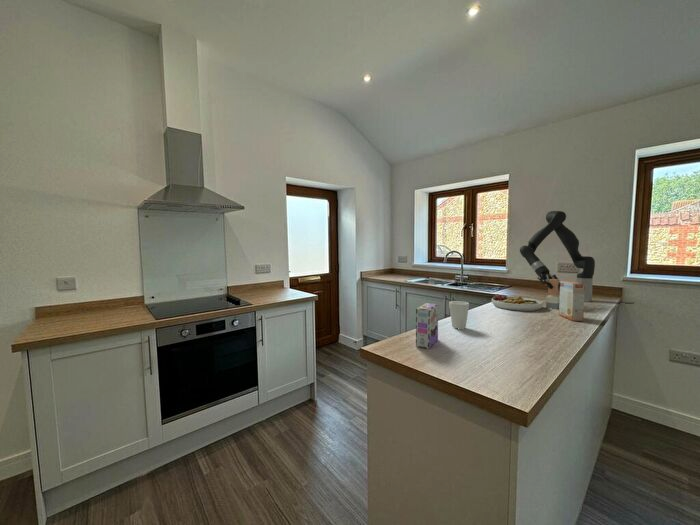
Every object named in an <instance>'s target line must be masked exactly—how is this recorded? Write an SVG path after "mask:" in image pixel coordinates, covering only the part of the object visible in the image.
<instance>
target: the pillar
mask: <svg viewBox="0 0 700 525" xmlns="http://www.w3.org/2000/svg"><path fill="white" fill-rule="evenodd" d="M549 283H551V285H552V286H553V288H552V289H550V288H549V287H548V286H547V289H548V290H547V291H548V292H547V295H548V296H549V295H551V296H559V289H558V284H559V285H560V279H559V278H558V279H549Z"/></svg>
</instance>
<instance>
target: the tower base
mask: <svg viewBox="0 0 700 525" xmlns="http://www.w3.org/2000/svg"><path fill="white" fill-rule="evenodd" d="M545 302H546V301H545ZM545 304H546V305H545V308H546V309H550V308H552V309H551V310H559V309H558V308H559V304H560V302H559V303H548V302H546V303H545Z"/></svg>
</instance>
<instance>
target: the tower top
mask: <svg viewBox="0 0 700 525" xmlns="http://www.w3.org/2000/svg"><path fill="white" fill-rule="evenodd" d="M545 302H548V303H559V302H560V295H549V294H548V295H546V301H545Z"/></svg>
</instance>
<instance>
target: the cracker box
mask: <svg viewBox="0 0 700 525" xmlns="http://www.w3.org/2000/svg"><path fill="white" fill-rule="evenodd" d="M559 285H560V288H559V296H560V304H559V309H558V310H559V311H558V315H559V316H560V317H563V318H565V319H567V320H570V321H572V322H584V312H585V310H584V307H585V302H584V290H585V284H582V283H578V282H577V281H572V280H559Z"/></svg>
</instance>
